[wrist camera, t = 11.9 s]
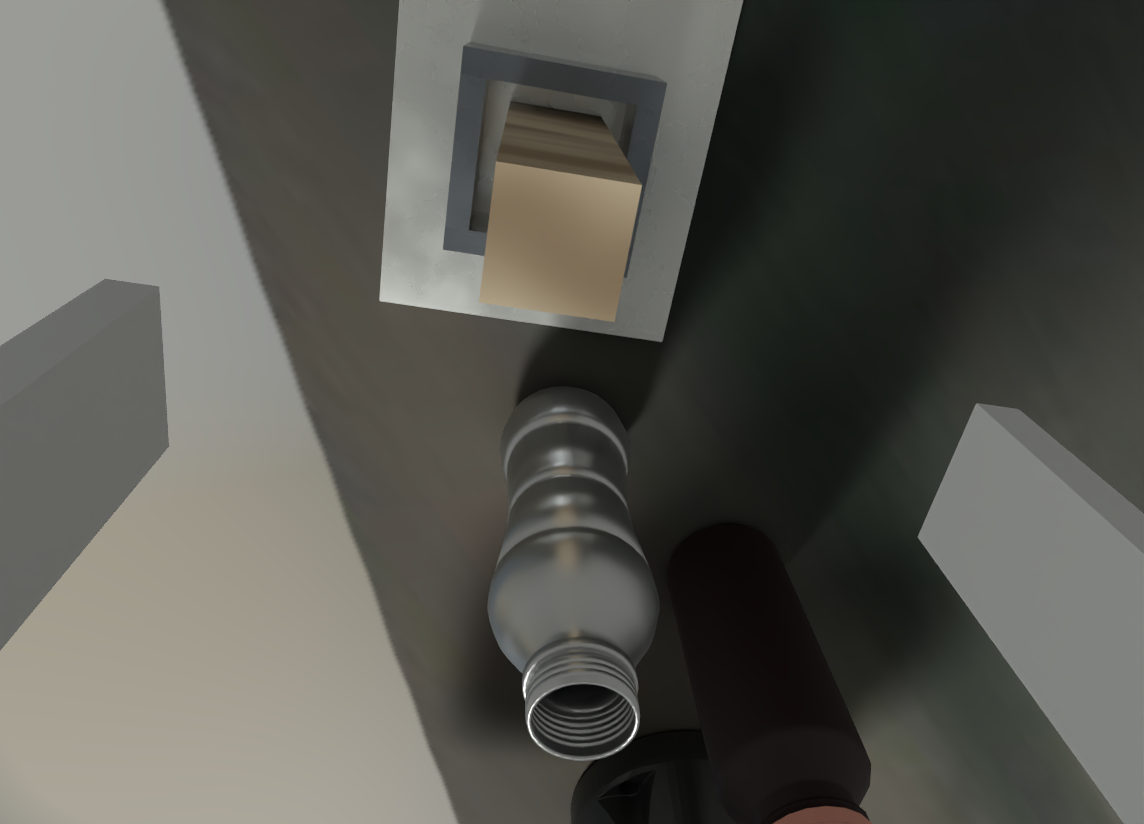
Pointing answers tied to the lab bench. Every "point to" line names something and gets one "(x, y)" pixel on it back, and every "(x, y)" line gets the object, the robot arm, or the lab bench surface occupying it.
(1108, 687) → the robot arm
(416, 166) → the grey socket base
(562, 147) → the beech rail
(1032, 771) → the lab bench surface
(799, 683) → the vinegar
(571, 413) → the plastic bottle
